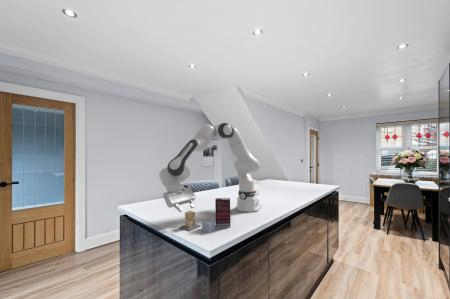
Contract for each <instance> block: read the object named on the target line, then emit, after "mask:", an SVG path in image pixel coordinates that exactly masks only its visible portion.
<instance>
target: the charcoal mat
mask: <svg viewBox="0 0 450 299" xmlns="http://www.w3.org/2000/svg"><path fill="white" fill-rule="evenodd" d="M200 227H202V224H201V225H200V224H197V223H195V226H193V227H191V228H189V227H185V224H183V225H180V226H179V229H181V230H184V231H187V232H191V231H193V230H195V229H197V228H200Z"/></svg>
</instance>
